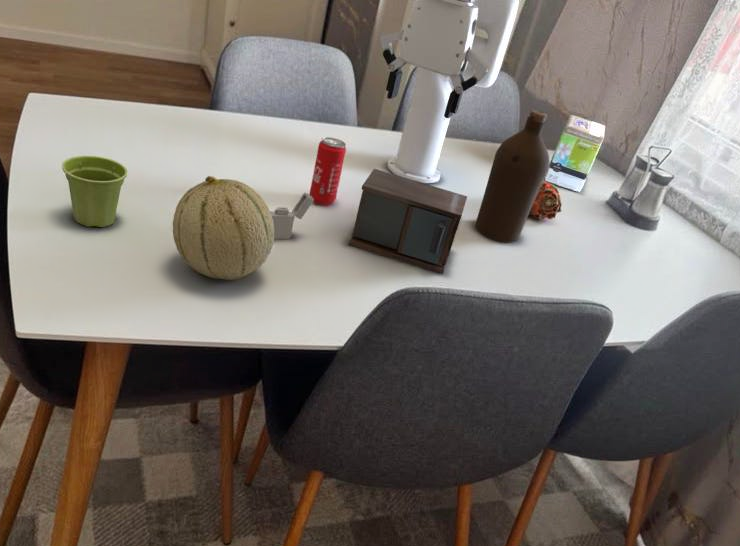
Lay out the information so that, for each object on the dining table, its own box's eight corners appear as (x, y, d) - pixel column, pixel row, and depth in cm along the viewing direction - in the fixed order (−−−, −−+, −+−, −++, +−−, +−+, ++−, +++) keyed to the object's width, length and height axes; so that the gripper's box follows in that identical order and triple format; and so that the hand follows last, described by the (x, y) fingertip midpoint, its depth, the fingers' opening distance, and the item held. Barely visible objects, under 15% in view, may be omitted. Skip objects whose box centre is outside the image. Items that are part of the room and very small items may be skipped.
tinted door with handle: (397, 251, 126) (410, 204, 121) (441, 264, 125) (456, 218, 120) (393, 259, 123) (406, 212, 118) (439, 273, 122) (454, 226, 117)
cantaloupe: (274, 299, 106) (291, 207, 97) (173, 296, 100) (181, 198, 92) (257, 251, 117) (271, 164, 108) (165, 245, 111) (172, 154, 103)
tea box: (581, 193, 180) (604, 137, 172) (543, 181, 182) (565, 124, 173) (584, 177, 193) (606, 124, 184) (548, 165, 194) (569, 112, 186)
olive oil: (525, 248, 143) (572, 127, 129) (475, 237, 142) (517, 114, 128) (516, 226, 152) (559, 110, 138) (469, 216, 150) (507, 98, 137)
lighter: (268, 238, 121) (275, 195, 117) (265, 234, 122) (272, 190, 118) (306, 238, 124) (314, 196, 120) (303, 234, 126) (311, 192, 121)
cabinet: (360, 225, 134) (374, 168, 128) (449, 252, 133) (467, 196, 127) (348, 245, 126) (362, 185, 120) (442, 274, 125) (461, 215, 119)
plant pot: (138, 221, 116) (140, 171, 111) (97, 239, 108) (98, 186, 103) (92, 201, 118) (92, 151, 113) (49, 217, 110) (47, 164, 106)
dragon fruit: (547, 235, 156) (513, 217, 165) (576, 212, 157) (540, 196, 166) (538, 204, 150) (503, 188, 159) (568, 181, 152) (532, 166, 160)
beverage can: (331, 209, 137) (343, 149, 130) (305, 201, 137) (316, 141, 131) (337, 200, 141) (349, 142, 135) (312, 193, 142) (323, 134, 135)
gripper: (512, 4, 104) (476, 119, 113) (404, -29, 107) (377, 86, 116) (502, 7, 98) (465, 128, 107) (387, -28, 101) (361, 93, 110)
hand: (419, 106), depth 112 cm, fingers open, 9 cm apart
